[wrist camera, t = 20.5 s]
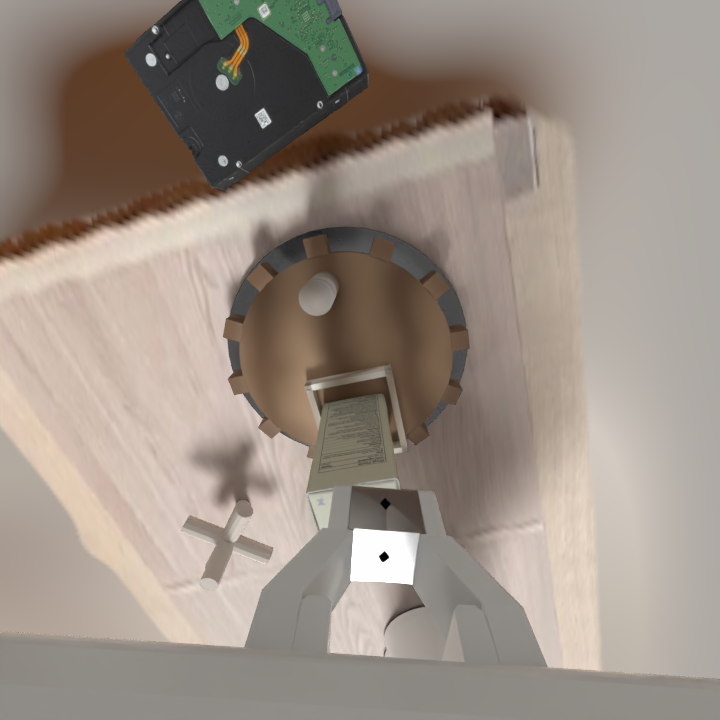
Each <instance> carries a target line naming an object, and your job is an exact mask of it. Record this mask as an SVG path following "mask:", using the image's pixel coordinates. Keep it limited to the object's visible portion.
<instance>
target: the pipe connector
mask: <svg viewBox="0 0 720 720" xmlns="http://www.w3.org/2000/svg"><path fill="white" fill-rule="evenodd" d="M252 514H253V509H252V507H251V504H250V503H249V502H248V501H246V500H239V501H238V502H237V503H236V506H235V508H234V510H233V512H232V514H231V516H230V518H229V520H228V523H227V525H226V527H225V529H224V528H221V527H219V526H216V525H214V524H211V523H208V522H206V521H203V520H201V519H198V518H196V517H193V516H191V515H190V516H189V517H188V519H187V520H186V522H185V524H184V526H183V528H182V530H181V532H180V533H182V534H185V535H188V536H190V537H193V538H196V539H198V540H201V541H204V542H206V543H209V544H211V545H214V546H216V547H215V549H214V550H213V552H212V554H211V556H210V558H209V560H208V562H207V563H206V567H205V572H204V574H203V576H202V578H201V580H200V586H201V587H202V588H203V589H205V590H208V591H213V590H215V589H217V588H218V585H219V583H220V581H221V578H222V576H223V573H224V571H225V568H226V566H227V564H228V561H229V559H230V556H231V554H232V552H233V553H235V554H238V555H240V556H243V557H246V558H248V559H251V560H254V561H256V562H259V563H262V564H264V565H267V563H268V561H269V559H270V557H271V554H272V551H273V547H270V546H267V545H265V544H262V543H260V542H257V541H255V540H252V539H250V538H247V537H244V536H242V535H241V533H242V531H243V530H244V528H245V526H246V524H247V523H248V521H249V519H250V517H251V516H252Z"/></svg>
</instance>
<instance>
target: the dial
mask: <svg viewBox="0 0 720 720" xmlns="http://www.w3.org/2000/svg"><path fill="white" fill-rule="evenodd" d="M303 243H304V247H305V250H306V254H307V258H306V259H304V260H302V261H300V262H298V263H296V264H294V265H292V266H290V267H288V268H287V269H285V270H284V271H282V272H281V273H279V274H278V273H277V272H276V271H275V270H274V269H273V267H272V266H271V265H270V264H269V263H268V262H264V263H261V264H259V265H258V267H257V268H256V269H255V270H254V271H253V272H252V273H251V274H250V275H249V276H248V277H247V278H246V279H247V280H248V281H249V282H250V283H251V284H252V285H253V286H254V287H255V288H256V289H257V290H258V291H259V292H260V293H259V294H258V295H257V296H256V298H255V300H254V301H253V303H252V304H251V306H250V308H249V310H248V313H247V315H246V317H245V316H242V315H238V314H233V315H231V316H230V317H228V318H227V319H226V322H225V328H224V334H223V337H224V338H228V339H231V340H234V341H238V342H240V345H239V351H240V364H241V369H239V370H235V372H234V373H233V374H232V375H231V376H230V377H229V378H228V381H229V383H230V385H231V388H232V390H233V393H234V395H237V394H242V393H247V392H250V395H251V397H252V398H253V400H254V401H255V403H256V404H257V406H258V407H259V409H260V410H261V411H262V412H263V414H264V415H265V417H264V418H263V420H262V422H261V424H260V426H259V427H258V428H259V429H260V430H262V431H263V432H264V433H265V434H266V435H268V436H269V437H270V438H271V439H272V438H273V437H274V436H275V435H276V434H278V433H279V432H280V431H281V430H282V431H283V432H285V433H286V434H288V435H290V436H291V437H293V438H295V439H297V440H299V441H301V442H303V443H305V444H308V445H310V447H309V451H308V455H307V457H309V458H313V456H314V450H315V445H316V440H317V435H318V430H319V424H320V420H321V414H322V409H323V405H324V404H325V403H330V402H335V401H340V400H345V399H350V398H355V397H361V396H367V395H373V394H380V393H382V394H384V396H385V401H386V406H387V412H388V418H389V424H390V430H391V436H392V442H393V448H394V454H396V453H402V452H408V448H407V443H406V438H405V436H407V437H408V438H409V439H410V440H411V441H412V442H413V443H414V444H415V445H417V444H418V443H419V442H421V441H422V440H424V439H425V438H426V437H428V436H429V433H428V430H427V426H426V424H425V423H424V421H425V420H426V419H427V418H428V417H429V416H430V415H431V414H432V412H433V411H434V410H435V408H436V407H437V406H438V404H439V402H440V401H443V402H446V403H450V404H453V405H455V404H456V402H457V400H458V398H459V396H460V394H461V392H462V390H463V389H462V388H461V386H460V384H459V383H458V381H457V380H455V379H451V378H450V374H451V370H452V361H453V352H454V351H459V350H464V349H469V348H470V347H469V337H468V330H467V329H466V328H465V327H464V326H463V325H462V324H458V325H453V326H448V324H447V321H446V318H445V316H444V314H443V312H442V310H441V308H440V306H439V304H438V303H437V301H436V299H438V298H439V297H440V296H441V295H442V294H444V293H445V292H446V291H447V290H448V289H449V288H450V287H449V286H448V285H447V284H446V282H445V281H444V280H443V279H442V277H441V276H440V275H439V274H438V272H436V271H435V270H433V269H432V270H431V271H430V272H429V273H428V274H427V275H425V276H424V277H423V278H422V279H421V280H420V281H419V280H418V279H417V278H415V277H414V276H413V275H412V274H410V273H409V272H408V271H406V270H405V269H404V268H402V267H400V266H398V265H397V264H395V263H393V262H391V261H390V260H391V257H392V254H393V251H394V248H395V245H396V243H393V242H391V241H388V240H385V239H382V238H379V237H376V236H375V237H374V240H373V243H372V246H371V249H370V253H369V254H367V253H362V252H353V251H336V252H331V250H330V246H329V242H328V238H327V234H323V235H319V236H315V237H311V238H307V239H303ZM399 439H400V441H397V440H399Z"/></svg>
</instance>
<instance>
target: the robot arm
mask: <svg viewBox="0 0 720 720" xmlns="http://www.w3.org/2000/svg"><path fill="white" fill-rule="evenodd" d="M351 580H357V581H383V582H393V583H404V584H412V586H413V588H414V590H415V591H416V593H417V594H418V596H419V598H420V599H421V601H422V602H423V604H424V605H425V607H422V608H417V609H413V610H410V611H408V612H405V613H403V614H401V615H399V616H398V617H396V618H395V619H394V620H393V621H392V622H391V623H390V624H389V625H388V627H387V629H386V631H385V635H384V640H385V645H386V649H387V650H386V653H385V655H384V657H380V656H366V655H351V654H336V653H330V630H331V613H332V611H333V609H334V608H335V606H336V605H337V603H338V602H339V600H340V598H341V597H342V595H343V594H344V592H345V591H346V589H347V587H348V586H349V584H350V583H351ZM0 720H720V679H715V678H700V677H699V678H698V677H685V676H670V675H655V674H640V673H624V672H610V671H595V670H580V669H564V668H549V667H547V664H546V662H545V659H544V657H543V654H542V652H541V650H540V647H539V645H538V642H537V640H536V638H535V635H534V633H533V630H532V628H531V625H530V623H529V621H528V618H527V616H526V613H525V611H524V608H523V607H522V606H521V605H520V604H519V603H518V602H517V601H516V600H515V599H514V598H513V597H512V596H511V595H510V594H509V593H508V592H507V591H506V590H505V589H504V588H503V587H502V586H501V585H500V584H499V583H498V582H497V581H496V580H495V579H494V578H493V577H492V576H491V575H490V574H489V573H488V572H487V571H486V570H485V569H484V568H483V567H482V566H481V565H480V564H479V563H478V562H477V561H476V560H475V559H474V558H473V557H472V556H471V555H470V554H469V553H468V552H467V551H466V550H465V549H464V548H463V547H462V546H461V545H460V544H459V543H458V542H457V541H456V540H455V539H454V538H453V537H452V536H446V532H445V528H444V525H443V521H442V517H441V513H440V509H439V506H438V502H437V498H436V494H435V492H434V491H433V490H407V489H389V488H376V487H364V486H353V485H352V488H351V486H349V485H338V484H335V485H334V488H333V495H332V502H331V509H330V516H329V523H328V528H322V529H321V530H320V531H319V532H318V533H317V534H316V535H315V536H314V537H313V538H312V539H311V540H310V541H309V542H308V543H307V544H306V545H305V546H304V547H303V548H302V549H301V550H300V551H299V553H298V554H297V555H296V556H295V557H294V558H293V559H292V560H291V561H290V562H289V563H288V564H287V565H286V566H285V567H284V568H283V569H282V570H281V571H280V572H279V573H278V574H277V575H276V576H275V577H274V578H273V579H272V580H271V581H270V582H269V583H268V584H267V585H266V586H265V587H264V588H263V589H262V592H261V595H260V598H259V602H258V605H257V608H256V611H255V615H254V618H253V621H252V624H251V628H250V631H249V634H248V637H247V641H246V644H245V647H230V646H215V645H200V644H185V643H170V642H155V641H140V640H125V639H110V638H95V637H78V636H64V635H49V634H34V633H19V632H3V631H0Z"/></svg>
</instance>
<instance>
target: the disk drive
mask: <svg viewBox="0 0 720 720" xmlns="http://www.w3.org/2000/svg"><path fill="white" fill-rule="evenodd" d="M125 56H126V58H127V59H128V61H129V63H130V64H131V66H132V67H133V69H134V70H135V72H136V73H137V74H138V76H139V77H140V79H141V80H142V82H143V84H144V85H145V86H146V88H147V89H148V91H149V92H150V94H151V96H152V97H153V99H154V100H155V102H156V103H157V105H158V106H159V108H160V110H161V111H162V112H163V114H164V115H165V117H166V119H167V120H168V121H169V123H170V125H171V126H172V128H173V129H174V131H175V132H176V134H177V135H178V136H179V137H180V138H181V139H182V141H183V142H184V143H185V144H186V146H187V147H188V149H189V150H191V151H192V152H193V153H192V155H193V156H194V158H195V163H196V164H197V166H198V167H199V168H200V170H201V171H202V173H203V175H204V176H205V178H206V179H207V181H208V182H209V184H210V185H211V186H212V187H213V188H217V189H220V190H226V189H227V188H228V187H230V186H231V185H233V184H234V183H237V182H238V181H239V180H241V179H242V178H244V177H245V176H246V175H248V174H249V172H250V171H252V170H253V169H254V168H256V167H257V166H259V165H260V164H261V163H262V162H264V161H266V160H267V159H268V158H270V157H271V156H272V155H274V154H275V153H277V152H278V151H279V150H281V149H282V148H283V147H285V146H286V145H289V144H290V143H291V142H293V141H294V140H295V139H296V138H298V137H299V136H301V135H302V134H304V133H305V132H307V131H308V130H309V129H311V128H312V127H314V126H315V125H316V124H318V123H319V122H321V121H322V120H323V119H325V118H326V117H328V116H329V115H330V114H332V113H333V112H334V111H336V110H338V109H339V108H341V107H342V106H343V105H345V104H346V103H347V102H348V101H350V100H351V99H352V98H353V97H355V96H356V95H358V94H359V93H361V92H362V91H363V90H364V89H366V88H368V86H369V71H368V69H367V67H366V64H365V62H364V60H363V58H362V55H361V53H360V51H359V49H358V47H357V44H356V42H355V40H354V38H353V36H352V33H351V31H350V29H349V27H348V25H347V23H346V20H345V18H344V16H342V10H341V8H340V6H339V4H338V2H337V0H182V1H180V2H179V3H178V4H177V5H176V6H175V7H173V8H172V9H171V10H170V11H169V12H168V13H167V14H166V15H164V16H163V17H162V18H161V19H160V20H159V21H158V22H157V23H156V24H154V26H152V27H151V28H150V29H148V30H147V31H145V32H144V33H143V34H142V35H141V36H140V37H139V38H138V39H137V40H136V42H135V43H134V44H133V45H131V47H130V48H129V49H128V50H126V51H125Z"/></svg>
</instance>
